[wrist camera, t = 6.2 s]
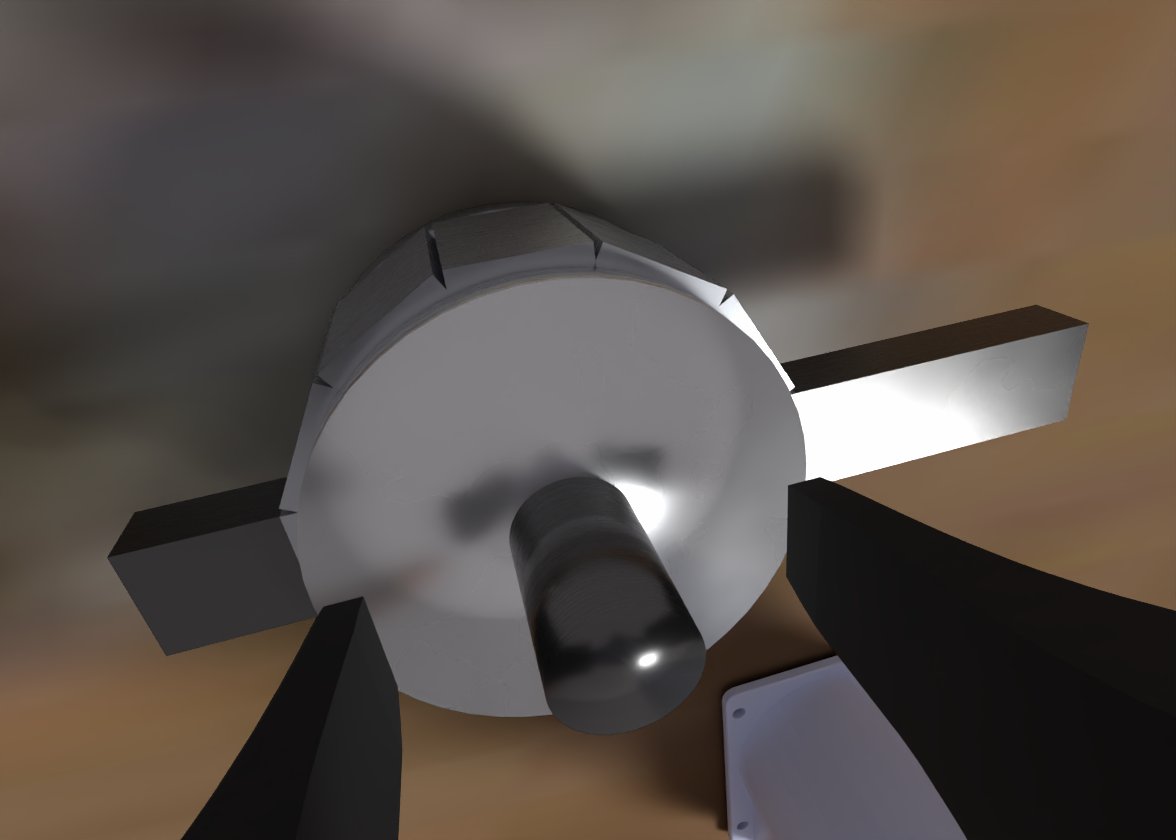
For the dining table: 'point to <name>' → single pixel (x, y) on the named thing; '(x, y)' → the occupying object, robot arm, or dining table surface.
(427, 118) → the dining table surface
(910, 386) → the pot
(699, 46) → the dining table surface
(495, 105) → the dining table surface
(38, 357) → the dining table surface
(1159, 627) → the robot arm
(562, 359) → the lid
